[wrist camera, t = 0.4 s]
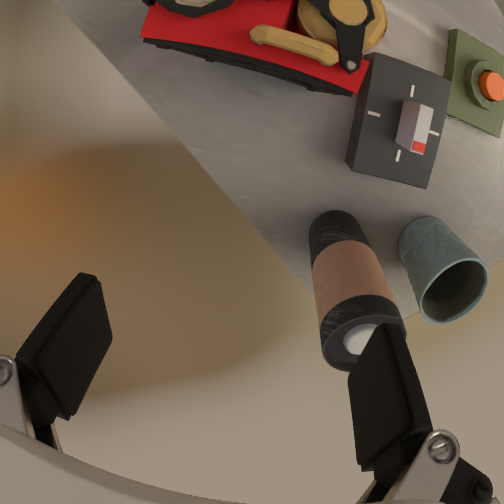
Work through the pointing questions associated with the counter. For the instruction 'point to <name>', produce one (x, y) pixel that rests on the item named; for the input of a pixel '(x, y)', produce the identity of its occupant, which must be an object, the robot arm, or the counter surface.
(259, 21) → the red coffee machine
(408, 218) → the counter surface
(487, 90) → the button
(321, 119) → the counter surface
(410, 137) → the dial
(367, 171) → the plate
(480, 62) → the button block
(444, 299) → the teal embossed cup
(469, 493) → the robot arm
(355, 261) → the travel mug
